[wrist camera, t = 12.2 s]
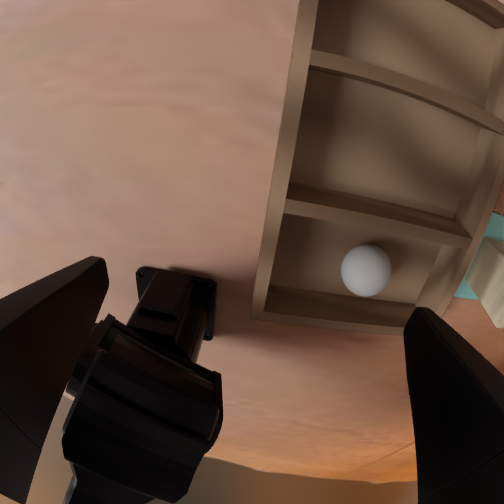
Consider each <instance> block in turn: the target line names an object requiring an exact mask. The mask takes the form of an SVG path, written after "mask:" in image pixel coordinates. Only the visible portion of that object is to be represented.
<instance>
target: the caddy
mask: <svg viewBox="0 0 504 504" xmlns="http://www.w3.org/2000/svg"><path fill="white" fill-rule="evenodd" d="M503 181H504V4H502V3H501V2H499V1H498V0H300V1H299V8H298V14H297V21H296V28H295V34H294V41H293V47H292V54H291V61H290V67H289V74H288V80H287V86H286V93H285V99H284V106H283V112H282V118H281V125H280V131H279V137H278V143H277V150H276V156H275V162H274V168H273V174H272V181H271V187H270V193H269V199H268V205H267V211H266V217H265V223H264V229H263V235H262V241H261V247H260V253H259V259H258V265H257V271H256V277H255V283H254V290H253V297H252V304H251V311H250V318H251V319H257V320H264V321H271V322H278V323H285V324H293V325H301V326H309V327H317V328H326V329H335V330H344V331H354V332H365V333H376V334H389V335H403V331H404V327H405V325H406V323H407V321H408V320H409V318H410V316H411V314H412V312H413V311H414V309H415V308H416V307H419V306H420V307H428V308H430V309H431V310H432V311H433V312H435V313H436V314H437V315H438V316H439V317H440V318H441V317H442V315H443V314H444V312H445V310H446V309H447V307H448V305H449V303H450V302H451V300H452V298H453V296H454V294H455V293H456V291H457V289H458V287H459V285H460V283H461V281H462V280H463V278H464V276H465V274H466V272H467V270H468V268H469V266H470V264H471V262H472V259H473V257H474V255H475V253H476V251H477V249H478V246H479V244H480V242H481V240H482V237H483V235H484V233H485V230H486V228H487V225H488V223H489V221H490V218H491V215H492V213H493V210H494V207H495V205H496V202H497V199H498V196H499V194H500V191H501V188H502V185H503ZM362 244H370V245H375V246H377V247H379V248H380V249H382V250H383V251H384V252H385V253H386V254H387V256H388V258H389V260H390V263H391V269H392V271H391V277H390V280H389V283H388V284H387V286H386V287H385V288H384V289H383V290H382V291H381V292H379V293H378V294H376V295H373V296H367V297H365V296H359V295H356V294H354V293H353V292H351V291H350V290H349V289H348V288H347V287H346V286H345V284H344V282H343V279H342V276H341V265H342V262H343V259H344V257H345V256H346V254H347V253H348V252H349V251H350V250H351V249H353V248H354V247H356V246H359V245H362Z"/></svg>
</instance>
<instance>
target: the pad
mask: <svg viewBox="0 0 504 504" xmlns="http://www.w3.org/2000/svg"><path fill="white" fill-rule="evenodd" d="M484 236H485V237H489V238H492V239H495V240H499V241H502V242H504V216H503V215H501V214H498V213H495V212H493V213H492V215H491V218H490V221H489V223H488V225H487V228H486V230H485V233H484V235H483V237H484ZM483 237H482V240H483ZM482 240H481V242H482ZM481 242H480V244H481ZM480 244H479V246H478V249H479V247H480ZM478 249H477V251H478ZM477 251H476V253H477ZM476 253H475V255H476ZM475 255H474V257H475ZM474 257H473V259H472V262H473V260H474ZM472 262H471V264H472ZM471 264H470V266H471ZM470 266H469V268H470ZM469 268H468V270H469ZM468 270H467V272H468ZM467 272H466V274H467ZM466 274H465V276H466ZM465 276H464V278H465ZM464 278H463V280H462V281H461V283H460V285H459V287H458V289H457V291H456V293H455V294H454V296H453V297H459V298H467V299H475V300H479V299H478V298H477V296H476V295H475V293H474V292H473V290H472V289H471V287H470V286H469V284H468V283H467V281H466V280H465V279H464Z"/></svg>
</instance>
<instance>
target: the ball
mask: <svg viewBox="0 0 504 504" xmlns="http://www.w3.org/2000/svg"><path fill="white" fill-rule="evenodd" d="M391 271H392V269H391V263H390V260H389V258H388V256H387V254H386V253H385V252H384V251H383V250H382V249H380V248H379V247H377V246H375V245H370V244H362V245H359V246H356V247H354V248H353V249H351V250H350V251H349V252H348V253H347V254H346V256H345V257H344V259H343V262H342V265H341V276H342V279H343V282H344V284H345V286H346V287H347V288H348V289H349V290H350V291H351V292H353V293H354V294H356V295H359V296H365V297H367V296H373V295H376V294H378V293H379V292H381V291H382V290H383V289H384V288H385V287H386V286H387V284H388V283H389V280H390V277H391Z"/></svg>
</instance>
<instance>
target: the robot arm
mask: <svg viewBox="0 0 504 504" xmlns="http://www.w3.org/2000/svg"><path fill="white" fill-rule="evenodd" d="M141 273H143V274H144V275H142V274H141ZM136 281H137V290H138V297H139V302H138V304H137V306H136V308H135V310H134V311H133V313H132V315H131V317H130V319H129V321H128V323H127V324H126V325H124V324H123V323H121V322H119V321H118V320H116V319H115V317H114V316H112V315H111V314H108V315H107V317H106V318H105V320H104V321H103V320H101V321H100V322H99V323H95V321H96V319H97V316H98V313H99V311H100V308H101V306H102V303H103V301H104V298H105V296H106V293H107V291H108V288H109V278H108V273H107V267H106V262H105V260H104V259H103V258H101V257H96V256H90V257H88V258H85V259H83V260H81V261H79V262H77V263H74V264H72V265H70V266H68V267H66V268H63V269H61V270H59V271H57V272H55V273H53V274H50V275H48V276H46V277H44V278H42V279H40V280H38V281H36V282H34V283H32V284H30V285H28V286H25V287H23V288H21V289H19V290H17V291H15V292H13V293H11V294H9V295H7V296H5V297H4V298H2V299H0V494H2V495H4V496H6V497H8V498H10V499H12V500H14V501H16V502H18V503H20V504H25V503H26V501H27V496H28V493H29V489H30V486H31V482H32V479H33V475H34V472H35V469H36V466H37V463H38V460H39V457H40V454H41V451H42V450H41V449H42V447H43V444H44V441H45V439H46V436H47V433H48V430H49V428H50V425H51V422H52V420H53V417H54V415H55V412H56V410H57V407H58V405H59V402H60V400H61V397H62V395H63V393H64V390H65V388H66V392H67V393H68V394H70V395H72V396H73V397H75V399H74V401H73V404H72V406H71V409H70V411H69V413H68V415H67V418H66V420H65V423H64V425H63V437H62V447H63V454H64V458H65V459H66V460H68V461H69V462H70V465H71V469H72V472H73V477H72V479H71V482H70V484H69V487H68V490H67V492H66V495H65V498H64V500H63V503H62V504H149V503H151V502H153V501H155V500H157V499H159V500H162V501H165V502H169V503H172V504H173V503H176V502H177V501H178V500H179V499H181V498H182V497H183V496H184V495H186V493H187V492H188V489H189V486H190V484H191V481H192V478H193V476H194V473H195V471H196V469H197V467H198V465H199V463H200V461H201V459H202V457H203V456H204V454H205V453H207V452H208V451H209V450H210V449H211V447H212V446H213V445H214V443H215V441H216V439H217V437H218V435H219V433H220V430H221V426H222V422H223V400H222V380H221V374H220V373H218V372H216V371H211V370H209V369H206V368H204V367H202V366H200V365H198V364H196V362H197V358H198V355H199V351H200V348H201V344H202V340H206V341H210V340H212V339H213V335H214V321H215V307H216V293H217V283H216V282H215V281H214V280H211V279H206V278H200V277H194V276H188V275H183V274H177V273H172V272H166V271H161V270H155V269H149V268H144V267H140V268H139V269H138V270H137V271H136ZM208 285H211V286H212V287H209V286H208ZM208 335H209V336H208ZM403 337H404V347H405V359H406V373H407V382H408V388H409V395H410V402H411V410H412V418H413V426H414V436H415V447H416V461H417V480H418V500H419V501H418V504H504V376H503V375H502V374H501V373H500V372H499V371H498V370H497V369H496V368H495V367H494V366H493V365H492V364H491V363H490V362H489V361H488V360H487V359H486V358H485V357H483V356H482V355H481V354H480V353H479V352H478V351H477V350H476V349H475V348H474V347H473V346H472V345H471V344H469V343H468V342H467V341H466V340H465V339H464V338H463V337H462V336H461V335H460V334H458V333H457V332H456V331H455V330H454V329H453V328H452V327H451V326H449V325H448V324H447V323H446V322H445V321H444V320H443V319H441V318H440V317H439V316H438V315H437V314H436V313H435V312H433V311H432V310H431V309H430V308H428V307H420V306H419V307H416V308H415V309H414V311H413V312H412V314H411V316H410V318H409V320H408V321H407V323H406V325H405V327H404V331H403ZM68 381H69V382H68ZM67 383H68V384H67ZM66 386H67V387H66Z"/></svg>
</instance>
